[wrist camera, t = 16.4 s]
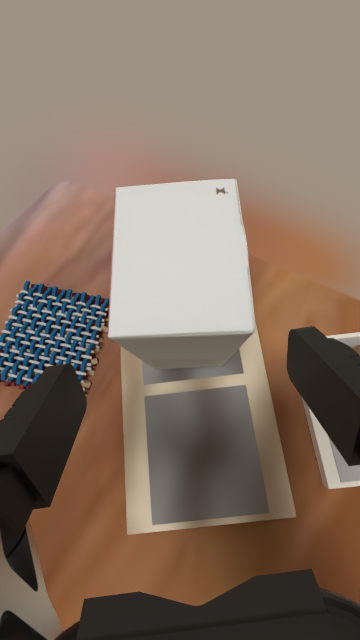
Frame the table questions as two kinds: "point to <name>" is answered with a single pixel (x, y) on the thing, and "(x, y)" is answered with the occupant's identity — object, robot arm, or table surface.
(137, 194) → the small box
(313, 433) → the plate
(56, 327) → the woven mat
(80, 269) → the table surface
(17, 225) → the table surface
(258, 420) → the board
